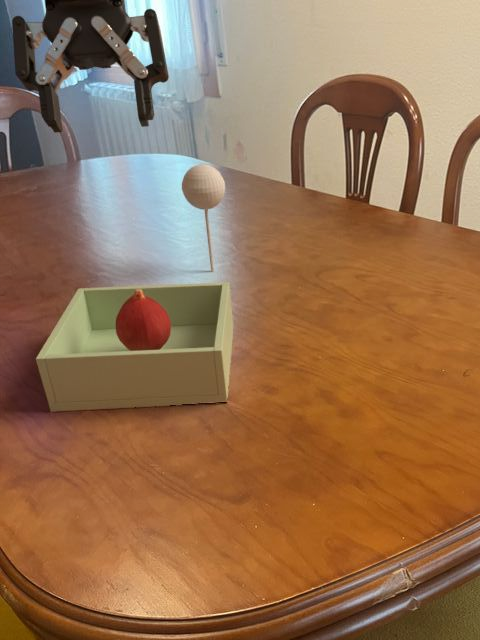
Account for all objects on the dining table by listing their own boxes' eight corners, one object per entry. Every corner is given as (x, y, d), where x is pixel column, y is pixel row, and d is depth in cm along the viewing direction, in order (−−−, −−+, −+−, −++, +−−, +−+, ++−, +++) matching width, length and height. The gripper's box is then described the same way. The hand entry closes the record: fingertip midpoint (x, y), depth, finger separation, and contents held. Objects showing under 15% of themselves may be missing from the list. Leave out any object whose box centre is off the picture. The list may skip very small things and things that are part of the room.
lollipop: (208, 261, 101) (196, 158, 93) (240, 267, 99) (231, 162, 91) (184, 275, 96) (169, 167, 88) (217, 281, 94) (206, 171, 86)
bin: (50, 412, 66) (35, 358, 62) (88, 334, 80) (78, 288, 77) (227, 403, 67) (221, 350, 63) (233, 328, 81) (229, 282, 78)
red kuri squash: (110, 360, 72) (96, 292, 68) (149, 341, 76) (138, 275, 72) (147, 374, 70) (135, 304, 65) (186, 353, 74) (176, 285, 69)
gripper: (-11, -65, 60) (12, 115, 61) (147, -72, 61) (167, 104, 62) (19, -13, 67) (39, 146, 68) (159, -20, 69) (177, 136, 69)
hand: (100, 126), depth 65 cm, fingers open, 8 cm apart
